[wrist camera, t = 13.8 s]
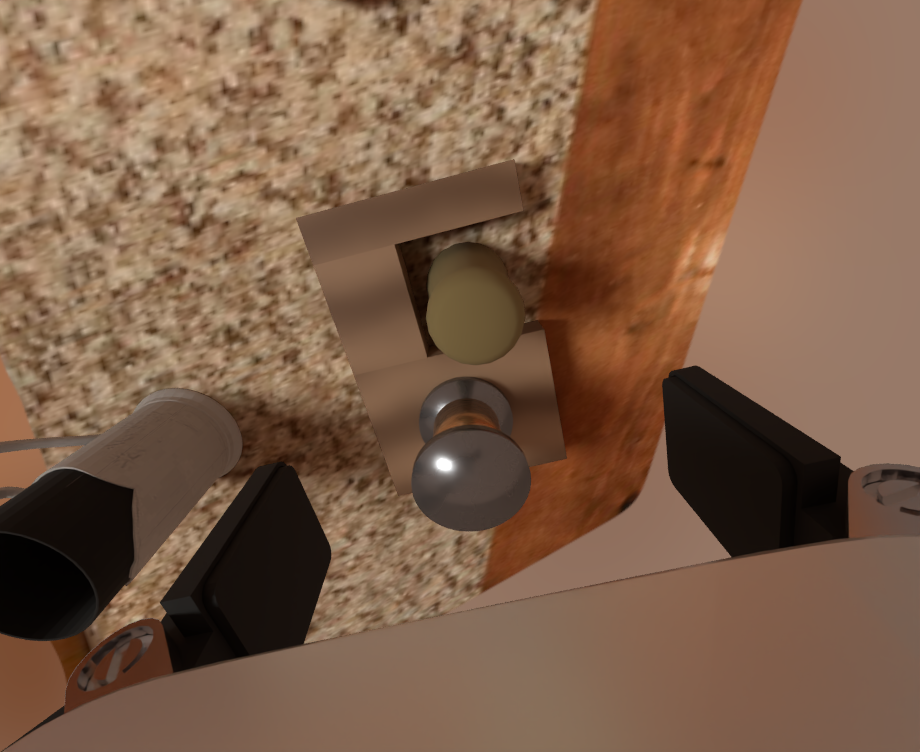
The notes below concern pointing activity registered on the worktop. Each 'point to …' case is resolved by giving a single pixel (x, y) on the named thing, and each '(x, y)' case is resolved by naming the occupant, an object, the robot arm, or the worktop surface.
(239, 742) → the robot arm
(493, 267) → the cork
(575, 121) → the worktop surface
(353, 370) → the notched board
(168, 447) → the glass holder
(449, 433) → the bobbin
